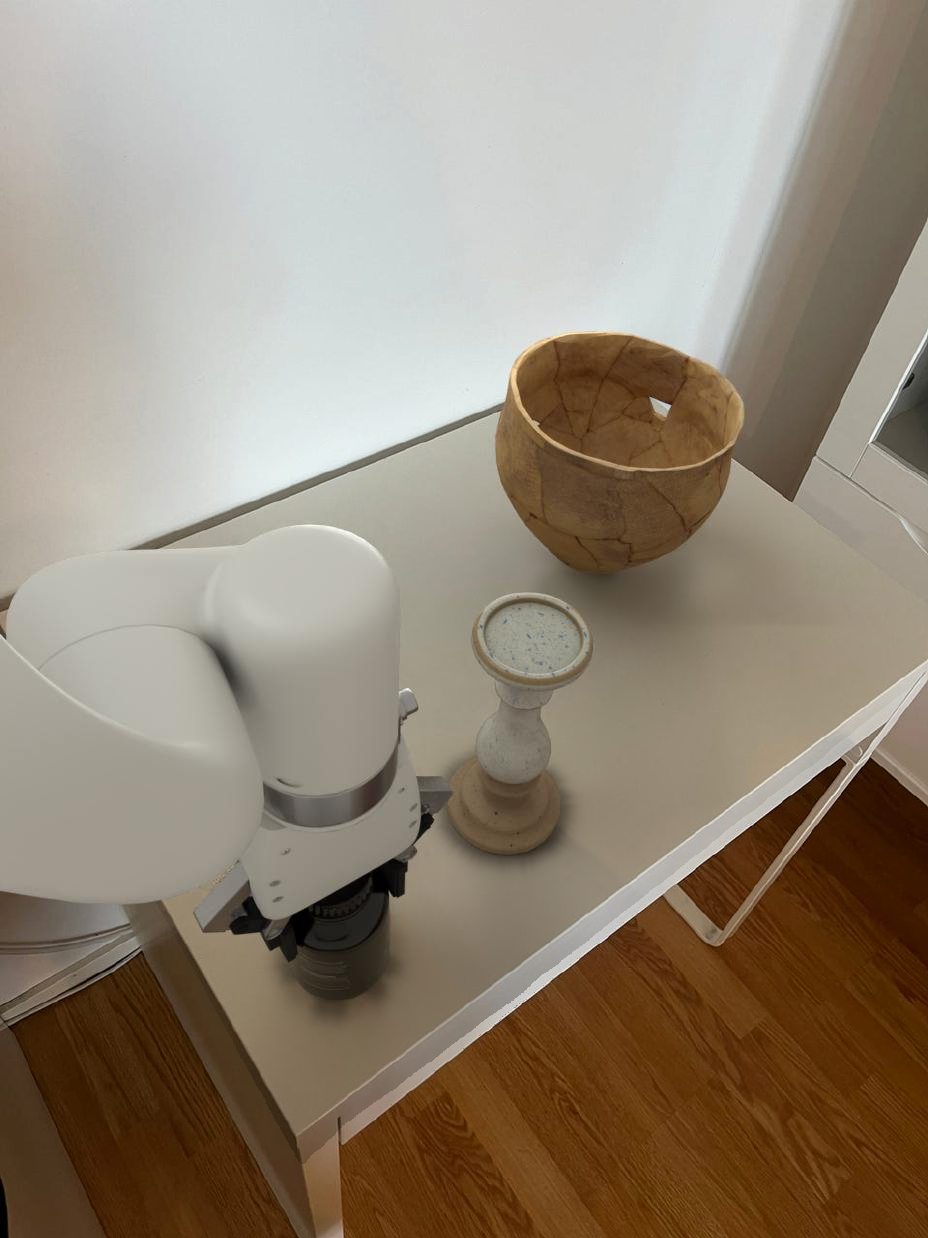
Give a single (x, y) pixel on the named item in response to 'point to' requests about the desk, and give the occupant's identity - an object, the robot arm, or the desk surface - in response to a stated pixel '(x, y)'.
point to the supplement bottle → (344, 939)
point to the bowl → (614, 447)
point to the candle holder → (518, 721)
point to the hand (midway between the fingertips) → (335, 907)
